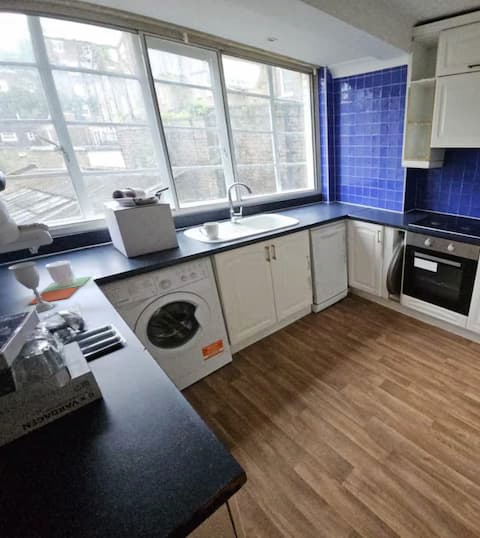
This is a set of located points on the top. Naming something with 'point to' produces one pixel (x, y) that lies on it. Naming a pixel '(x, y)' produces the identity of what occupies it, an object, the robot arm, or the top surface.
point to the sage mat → (78, 284)
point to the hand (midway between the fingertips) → (13, 255)
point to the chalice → (30, 281)
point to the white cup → (61, 273)
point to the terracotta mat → (55, 295)
